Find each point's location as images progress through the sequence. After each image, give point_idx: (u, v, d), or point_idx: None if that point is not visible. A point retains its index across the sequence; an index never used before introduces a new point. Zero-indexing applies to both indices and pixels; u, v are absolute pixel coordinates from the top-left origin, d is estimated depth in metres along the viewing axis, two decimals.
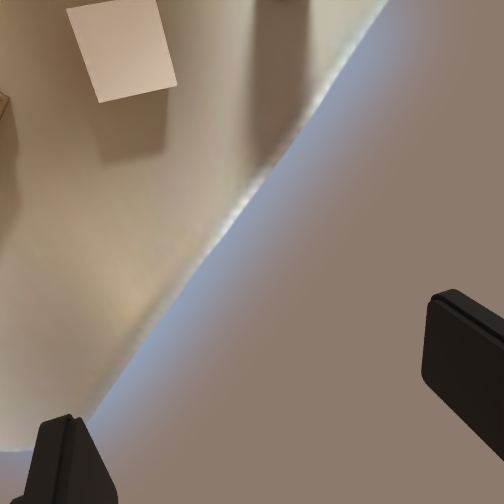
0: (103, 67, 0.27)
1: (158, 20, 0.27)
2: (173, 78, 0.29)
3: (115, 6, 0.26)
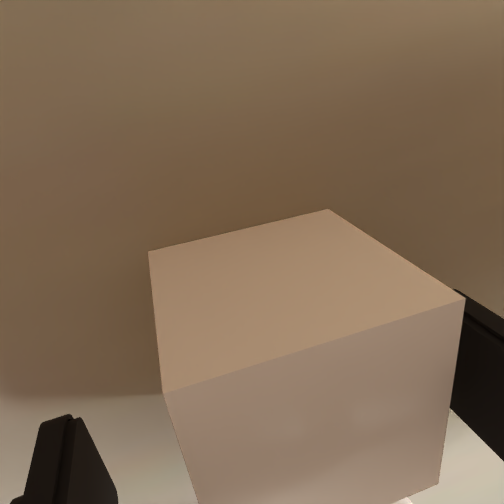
0: (292, 399, 0.07)
1: (385, 502, 0.10)
2: None
3: (436, 415, 0.09)
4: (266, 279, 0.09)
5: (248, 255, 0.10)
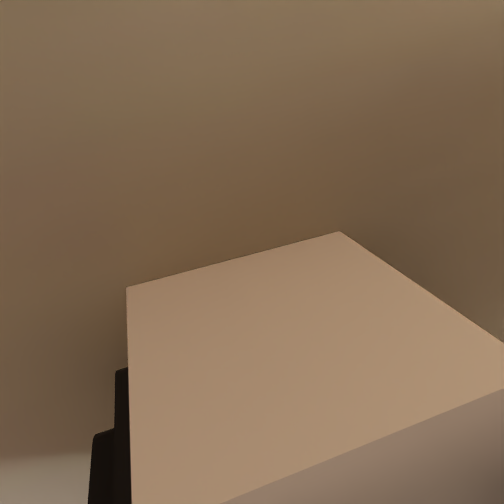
0: None
1: None
2: None
3: None
4: (274, 334, 0.07)
5: (249, 297, 0.08)
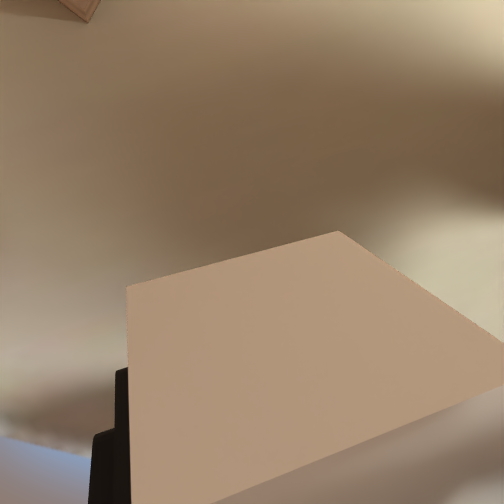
0: None
1: None
2: None
3: None
4: (273, 333, 0.07)
5: (248, 296, 0.08)
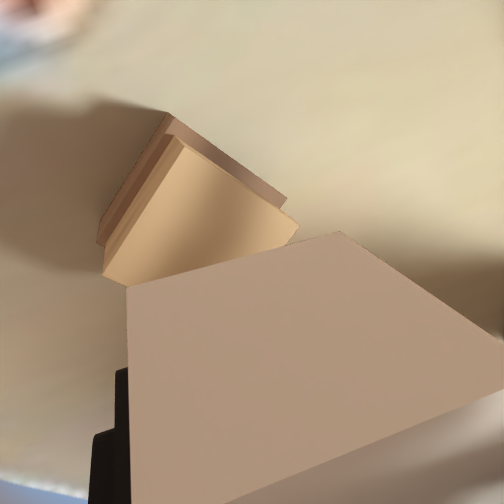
0: None
1: None
2: None
3: None
4: (274, 335, 0.07)
5: (249, 297, 0.08)
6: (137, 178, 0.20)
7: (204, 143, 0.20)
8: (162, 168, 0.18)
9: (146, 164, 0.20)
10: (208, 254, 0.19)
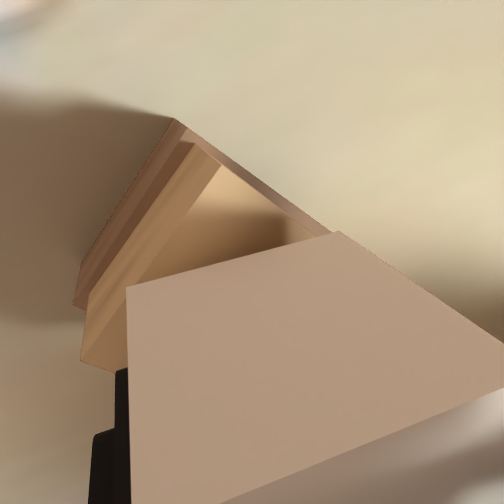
0: None
1: None
2: None
3: None
4: (274, 334, 0.07)
5: (249, 297, 0.08)
6: (132, 215, 0.14)
7: (228, 164, 0.14)
8: (179, 194, 0.12)
9: (145, 195, 0.14)
10: None
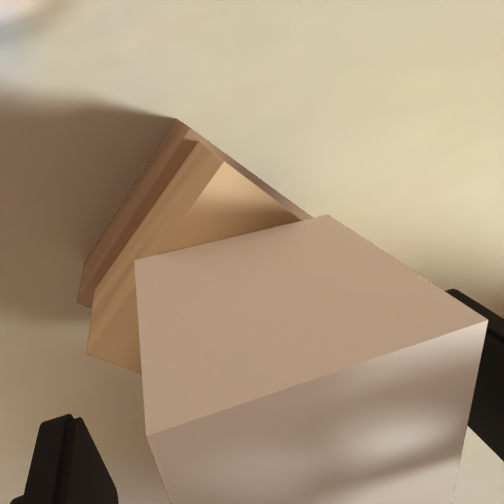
0: (294, 435, 0.06)
1: None
2: None
3: (450, 445, 0.08)
4: (265, 295, 0.08)
5: (244, 267, 0.09)
6: (135, 213, 0.14)
7: (230, 164, 0.14)
8: (183, 191, 0.12)
9: (148, 194, 0.14)
10: None
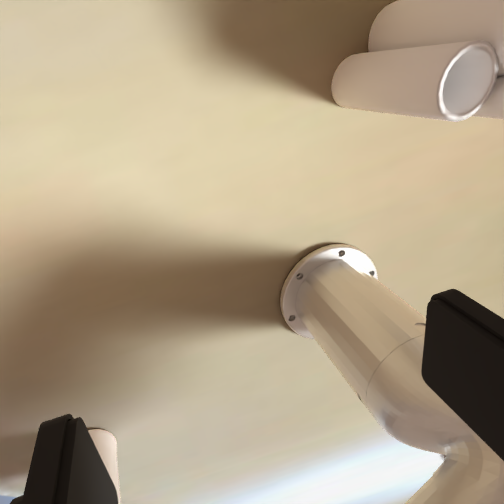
0: None
1: None
2: None
3: None
4: None
5: None
6: None
7: None
8: None
9: None
10: None
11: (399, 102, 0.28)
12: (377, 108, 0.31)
